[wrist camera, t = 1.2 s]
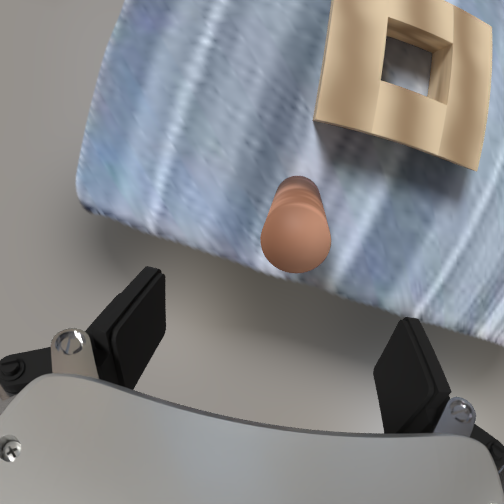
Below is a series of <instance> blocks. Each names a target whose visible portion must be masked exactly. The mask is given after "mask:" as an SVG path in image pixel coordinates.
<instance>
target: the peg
mask: <svg viewBox="0 0 504 504" xmlns="http://www.w3.org/2000/svg"><path fill="white" fill-rule="evenodd" d="M330 246H331V235H330V231H329V227H328V223H327V219H326V215H325V212H324V208H323V204H322V200H321V197H320V193H319V190H318V188H317V186H316V185H315V183H314V182H313V181H311V180H310V179H308V178H306V177H303V176H292V177H289V178H287V179H285V180H284V181H283V182H282V183H281V184H280V185H279V187H278V189H277V191H276V194H275V197H274V199H273V202H272V205H271V208H270V210H269V213H268V216H267V218H266V221H265V224H264V227H263V229H262V233H261V247H262V251H263V253H264V255H265V257H266V258H267V260H268V261H269V262H270V263H271V264H272V265H273V266H275V267H276V268H278V269H280V270H282V271H285V272H289V273H303V272H307V271H310V270H312V269H314V268H316V267H317V266H319V265H320V264H321V263H322V262H323V261H324V260H325V258H326V257H327V255H328V253H329V250H330Z"/></svg>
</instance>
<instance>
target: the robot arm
mask: <svg viewBox="0 0 504 504" xmlns="http://www.w3.org/2000/svg"><path fill="white" fill-rule="evenodd" d="M165 313H166V312H165V275H164V274H162V273H161V270H160V269H157V268H152V267H148V266H147V267H145V268H144V269H143V270H142V271H141V272H140V273H139V274H138V275H137V276H136V278H135V279H134V280H133V281H132V282H131V283H130V284H129V285H128V286H127V287H126V288H125V289H124V290H123V292H122V293H120V294H118V295H117V296H116V297H115V298H114V299H113V301H112V302H111V303H110V304H109V305H108V306H107V307H106V308H105V309H104V310H103V311H102V313H101V314H100V315H99V316H98V317H97V318H96V319H95V320H94V322H93V323H92V324H91V325H90V326H89V328H88V329H87V330H86V331H83V330H81V329H77V328H68V329H64V330H62V331H60V332H58V333H57V334H56V335H55V336H54V337H53V339H52V341H51V347H48V348H43V349H38V350H33V351H28V352H23V353H18V354H12V355H9V356H6V357H4V358H3V359H1V360H0V504H504V446H503V445H502V444H501V443H500V442H499V441H498V440H496V439H495V438H494V437H492V436H491V435H489V434H488V433H487V432H485V431H484V430H483V429H481V428H480V427H478V426H477V425H476V424H474V423H475V420H476V413H475V410H474V408H473V406H472V405H471V404H470V403H469V402H468V401H467V400H465V399H463V398H460V397H454V398H451V399H450V397H449V394H450V393H451V389H450V387H449V384H448V382H447V380H446V377H445V375H444V373H443V370H442V368H441V365H440V363H439V361H438V359H437V356H436V354H435V352H434V350H433V348H432V346H431V343H430V341H429V339H428V337H427V335H426V333H425V331H424V329H423V327H422V325H421V323H420V321H419V319H416V318H410V317H405V318H404V319H403V320H400V321H399V322H398V324H397V326H396V328H395V330H394V332H393V334H392V336H391V338H390V340H389V342H388V344H387V346H386V347H385V349H384V351H383V353H382V355H381V357H380V358H379V360H378V362H377V364H376V366H375V368H374V372H373V375H374V380H375V384H376V390H377V395H378V399H379V405H380V410H381V416H382V421H383V427H384V434H372V433H346V432H330V431H319V430H309V429H299V428H292V427H284V426H278V425H271V424H265V423H259V422H253V421H248V420H243V419H238V418H233V417H228V416H224V415H219V414H215V413H211V412H207V411H202V410H198V409H195V408H191V407H187V406H184V405H180V404H177V403H173V402H169V401H166V400H163V399H160V398H156V397H153V396H150V395H147V394H144V393H141V392H137V391H135V390H133V389H134V387H135V385H136V384H137V382H138V380H139V378H140V376H141V375H142V373H143V371H144V369H145V368H146V366H147V364H148V362H149V361H150V359H151V357H152V355H153V354H154V352H155V350H156V348H157V347H158V345H159V343H160V341H161V340H162V338H163V336H164V334H165V330H166V314H165Z"/></svg>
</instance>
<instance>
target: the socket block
mask: <svg viewBox="0 0 504 504" xmlns="http://www.w3.org/2000/svg"><path fill="white" fill-rule="evenodd" d="M386 36H389V37H392V38H394V39H397V40H400V41H403V42H406V43H408V44H411V45H414V46H416V47H419V48H421V49H424V50H426V51H428V52H431V53H432V62H431V72H430V80H429V88H428V96H427V97H426V96H423V95H421V94H418V93H416V92H413V91H410V90H408V89H405V88H402V87H399V86H396V85H393V84H390V83H387V82H384V81H381V74H382V67H383V59H384V51H385V43H386ZM491 73H492V27H491V26H489V25H488V24H486V23H485V22H483V21H481V20H480V19H478V18H476V17H475V16H473V15H471V14H469V13H467V12H466V11H464V10H462V9H460V8H458V7H456V6H454V5H452V4H450V3H448V2H446V1H444V0H332V1H331V8H330V16H329V23H328V30H327V37H326V43H325V50H324V56H323V63H322V69H321V75H320V81H319V87H318V93H317V99H316V105H315V110H314V116H313V121H317V122H321V123H326V124H330V125H335V126H339V127H343V128H347V129H351V130H355V131H358V132H362V133H366V134H369V135H373V136H376V137H380V138H383V139H386V140H390V141H393V142H396V143H399V144H402V145H405V146H408V147H411V148H414V149H417V150H420V151H422V152H425V153H428V154H431V155H433V156H436V157H439V158H441V159H444V160H446V161H449V162H451V163H454V164H457V165H460V166H463V167H465V168H468V169H471V170H474V171H477V169H478V165H479V160H480V156H481V151H482V146H483V140H484V135H485V129H486V122H487V115H488V107H489V99H490V88H491Z"/></svg>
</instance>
